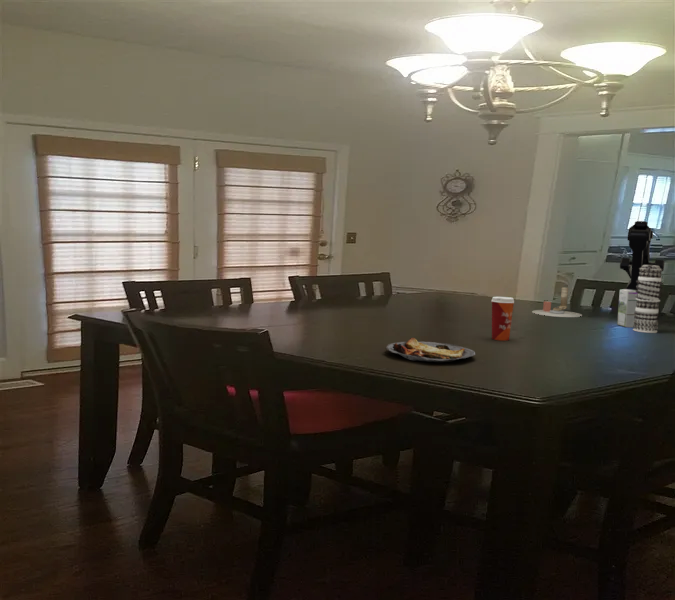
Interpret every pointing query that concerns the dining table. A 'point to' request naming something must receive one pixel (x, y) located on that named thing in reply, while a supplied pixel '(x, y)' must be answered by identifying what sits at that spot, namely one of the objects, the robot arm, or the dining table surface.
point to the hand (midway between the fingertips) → (641, 278)
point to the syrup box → (627, 307)
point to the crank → (563, 299)
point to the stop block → (547, 306)
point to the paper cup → (501, 317)
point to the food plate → (429, 351)
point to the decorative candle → (647, 299)
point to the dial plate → (557, 313)
